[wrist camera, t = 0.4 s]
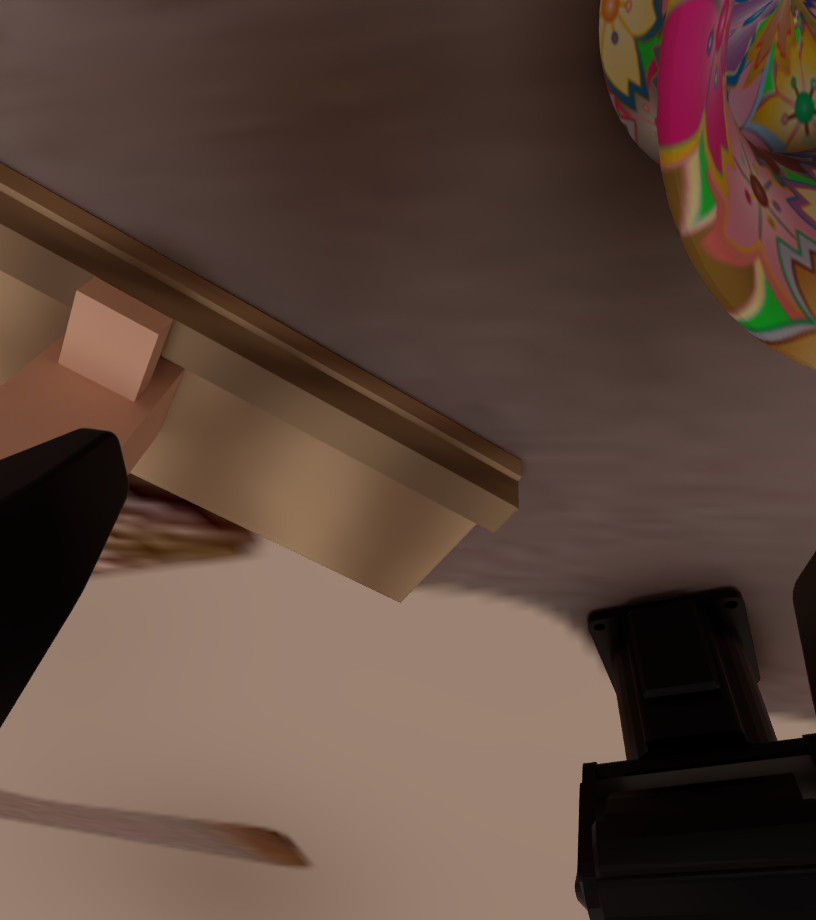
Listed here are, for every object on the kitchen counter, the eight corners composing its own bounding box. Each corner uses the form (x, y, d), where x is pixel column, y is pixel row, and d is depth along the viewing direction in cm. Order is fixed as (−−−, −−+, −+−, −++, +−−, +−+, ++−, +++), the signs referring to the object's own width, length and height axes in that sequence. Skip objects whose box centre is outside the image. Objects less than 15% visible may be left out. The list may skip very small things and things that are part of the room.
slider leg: (210, 306, 20) (20, 520, 12) (156, 437, 24) (-17, 667, 16) (104, 247, 19) (-172, 435, 11) (65, 391, 23) (-165, 610, 15)
